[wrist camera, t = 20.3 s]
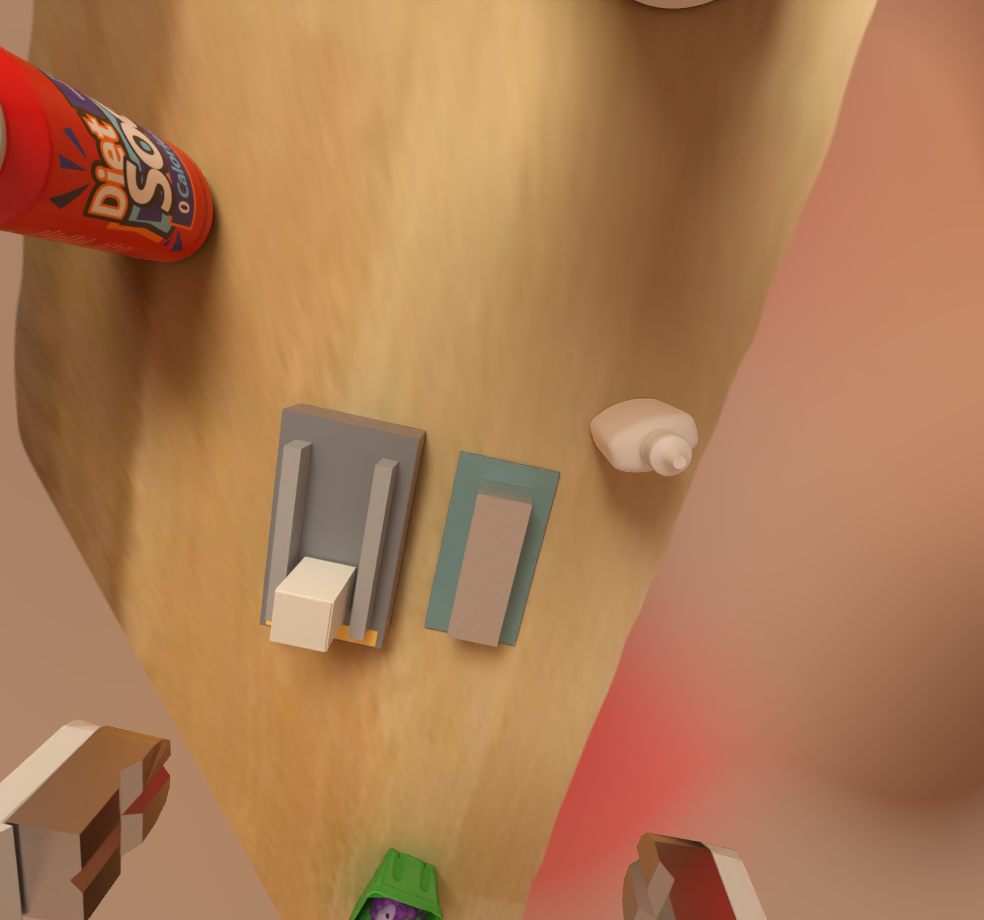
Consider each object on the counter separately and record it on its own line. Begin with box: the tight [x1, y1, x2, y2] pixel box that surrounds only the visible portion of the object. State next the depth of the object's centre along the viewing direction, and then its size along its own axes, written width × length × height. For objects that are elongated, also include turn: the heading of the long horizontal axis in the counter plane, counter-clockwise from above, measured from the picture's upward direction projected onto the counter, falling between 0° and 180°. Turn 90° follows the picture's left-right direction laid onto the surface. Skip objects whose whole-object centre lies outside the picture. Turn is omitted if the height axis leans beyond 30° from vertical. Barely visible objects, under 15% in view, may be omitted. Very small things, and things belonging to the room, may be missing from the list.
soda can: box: [0, 47, 213, 262], centre depth 27 cm, size 8×8×15 cm
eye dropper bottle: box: [590, 398, 699, 477], centre depth 32 cm, size 4×6×12 cm
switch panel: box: [260, 404, 426, 649], centre depth 38 cm, size 18×10×5 cm, turn 168°
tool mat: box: [425, 451, 560, 646], centre depth 40 cm, size 16×8×1 cm, turn 168°
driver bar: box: [447, 478, 532, 647], centre depth 38 cm, size 12×4×4 cm, turn 168°
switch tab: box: [270, 557, 356, 652], centre depth 36 cm, size 4×4×5 cm
